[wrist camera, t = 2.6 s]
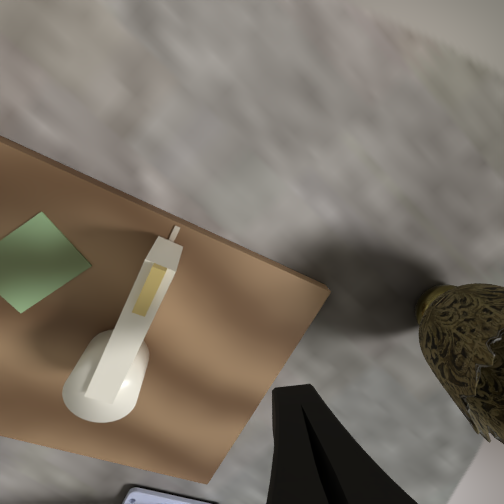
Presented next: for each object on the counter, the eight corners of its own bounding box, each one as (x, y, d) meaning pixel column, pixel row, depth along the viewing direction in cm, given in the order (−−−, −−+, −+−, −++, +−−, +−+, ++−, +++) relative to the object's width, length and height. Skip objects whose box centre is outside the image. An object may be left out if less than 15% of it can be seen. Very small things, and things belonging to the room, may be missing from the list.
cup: (420, 365, 24) (515, 471, 16) (362, 308, 21) (443, 401, 14) (503, 300, 22) (648, 381, 15) (452, 231, 20) (593, 287, 13)
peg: (136, 385, 20) (119, 441, 16) (78, 368, 19) (46, 423, 15) (201, 254, 17) (198, 285, 14) (138, 226, 16) (116, 251, 13)
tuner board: (207, 471, 25) (207, 485, 24) (-82, 400, 20) (-98, 414, 19) (325, 285, 20) (331, 292, 19) (-11, 130, 15) (-28, 130, 14)
